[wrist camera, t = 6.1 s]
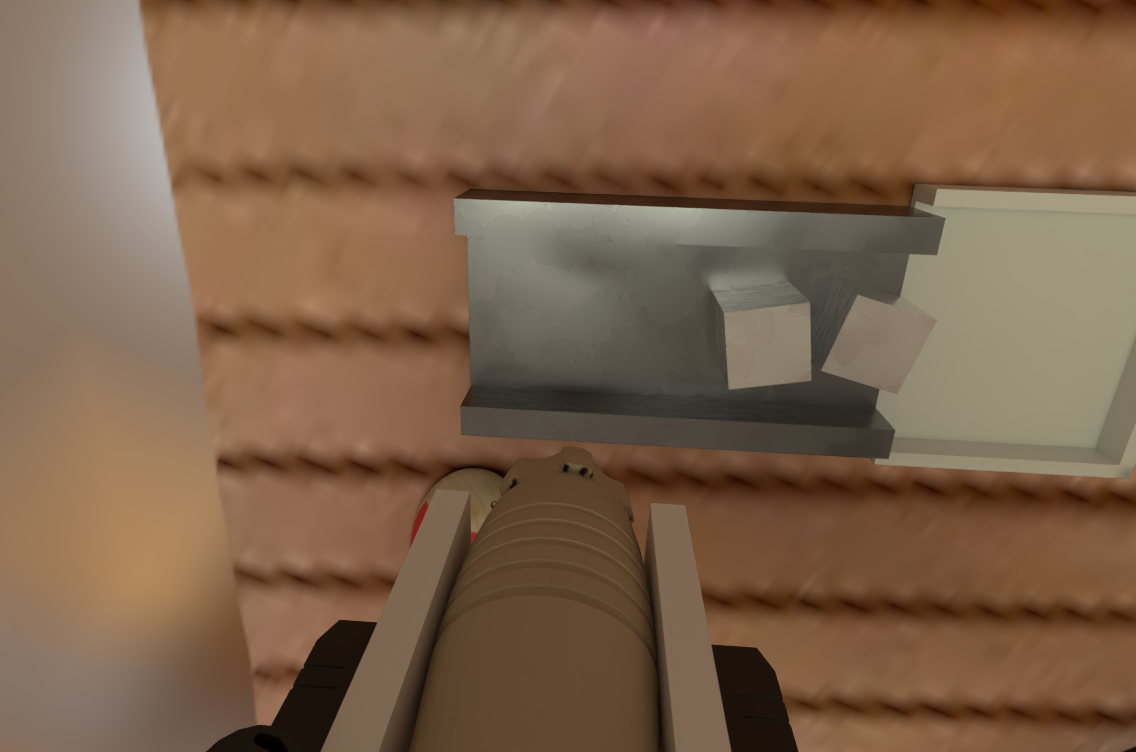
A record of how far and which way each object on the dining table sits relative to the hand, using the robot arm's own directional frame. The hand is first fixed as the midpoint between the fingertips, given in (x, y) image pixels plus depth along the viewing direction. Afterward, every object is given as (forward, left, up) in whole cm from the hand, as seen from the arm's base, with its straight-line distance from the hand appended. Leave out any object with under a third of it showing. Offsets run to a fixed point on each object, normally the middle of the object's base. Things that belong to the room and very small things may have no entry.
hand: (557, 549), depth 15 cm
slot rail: (-4, 0, -19) cm, 20 cm away
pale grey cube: (-12, 0, -18) cm, 22 cm away
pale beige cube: (-8, 0, -18) cm, 20 cm away
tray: (-20, 0, -19) cm, 28 cm away
